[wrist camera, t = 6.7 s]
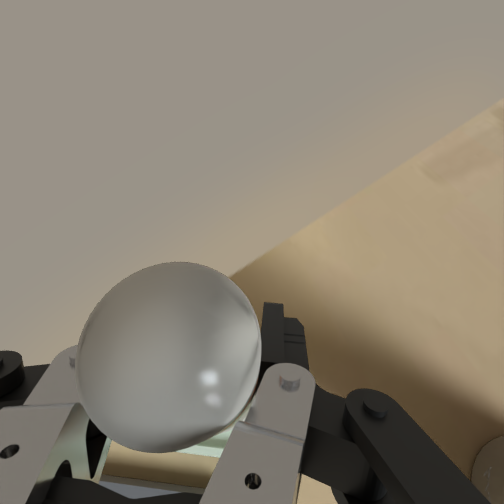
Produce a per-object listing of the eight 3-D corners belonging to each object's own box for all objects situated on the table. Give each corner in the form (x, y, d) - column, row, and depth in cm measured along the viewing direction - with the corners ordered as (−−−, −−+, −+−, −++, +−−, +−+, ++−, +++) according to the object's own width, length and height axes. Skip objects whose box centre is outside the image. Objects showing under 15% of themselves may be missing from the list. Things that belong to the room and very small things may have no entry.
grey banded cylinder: (262, 348, 15) (268, 269, 7) (255, 437, 14) (251, 465, 6) (185, 340, 15) (107, 255, 7) (169, 427, 14) (45, 440, 6)
